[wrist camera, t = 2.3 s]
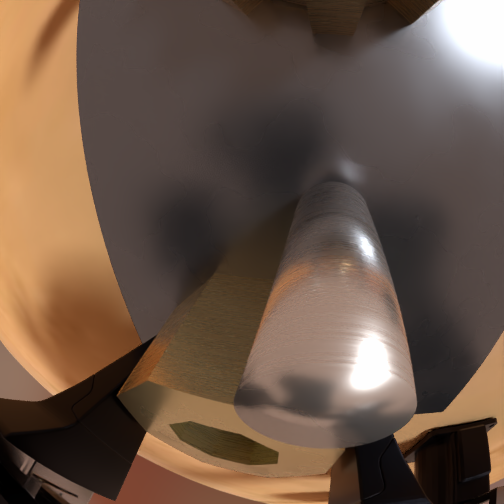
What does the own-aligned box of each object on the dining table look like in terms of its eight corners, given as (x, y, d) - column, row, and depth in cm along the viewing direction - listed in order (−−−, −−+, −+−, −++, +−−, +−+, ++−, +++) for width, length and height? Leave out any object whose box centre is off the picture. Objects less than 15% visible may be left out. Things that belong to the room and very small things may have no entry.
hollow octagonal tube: (329, 398, 10) (316, 483, 7) (196, 376, 11) (161, 447, 8) (360, 287, 7) (366, 420, 4) (164, 267, 9) (88, 355, 5)
